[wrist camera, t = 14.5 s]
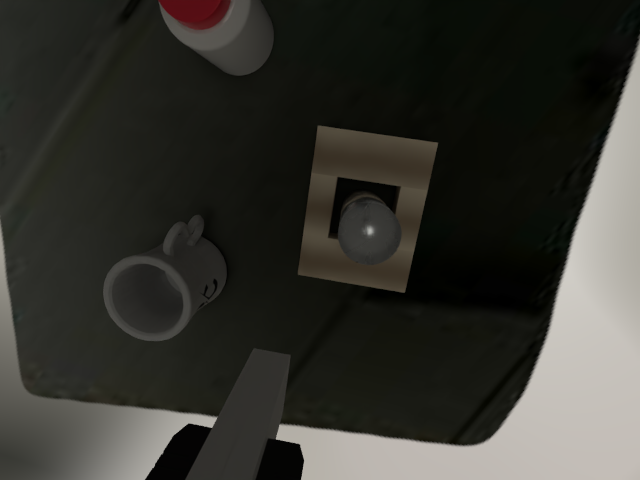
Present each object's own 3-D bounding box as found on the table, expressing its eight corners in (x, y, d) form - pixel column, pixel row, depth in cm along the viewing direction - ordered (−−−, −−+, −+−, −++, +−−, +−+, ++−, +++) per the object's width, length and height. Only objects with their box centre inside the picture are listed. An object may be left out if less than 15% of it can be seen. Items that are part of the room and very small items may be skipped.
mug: (217, 312, 42) (177, 356, 33) (151, 285, 42) (92, 322, 33) (247, 225, 39) (213, 245, 30) (176, 196, 39) (119, 207, 30)
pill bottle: (222, -22, 34) (162, -107, 23) (287, 19, 34) (258, -46, 23) (190, 51, 36) (122, 3, 25) (252, 89, 36) (211, 59, 25)
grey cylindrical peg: (345, 185, 37) (343, 198, 24) (385, 191, 37) (407, 208, 23) (338, 225, 38) (333, 259, 25) (378, 231, 38) (394, 269, 25)
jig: (320, 128, 36) (318, 125, 33) (430, 144, 35) (438, 142, 33) (301, 266, 40) (297, 274, 37) (400, 282, 39) (404, 292, 36)
